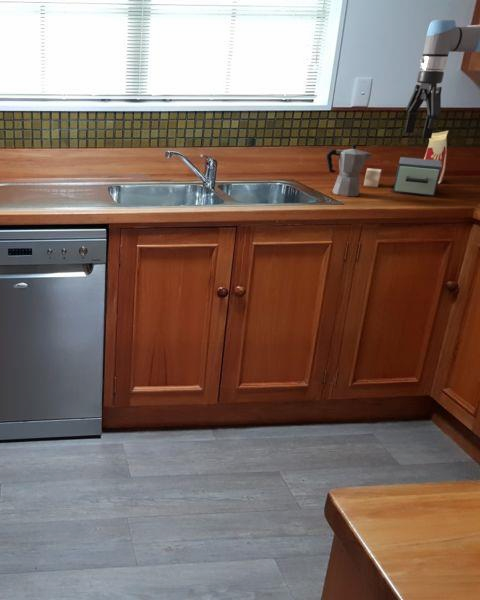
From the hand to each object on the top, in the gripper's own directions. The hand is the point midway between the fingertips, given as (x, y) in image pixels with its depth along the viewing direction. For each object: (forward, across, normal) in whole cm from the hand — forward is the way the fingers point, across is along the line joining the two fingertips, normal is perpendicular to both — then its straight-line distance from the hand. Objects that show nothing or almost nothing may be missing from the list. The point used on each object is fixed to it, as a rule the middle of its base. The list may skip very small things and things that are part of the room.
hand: (417, 135), depth 212 cm
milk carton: (+22, -31, +23) cm, 44 cm away
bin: (+21, -6, +6) cm, 22 cm away
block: (+22, -18, -5) cm, 29 cm away
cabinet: (+22, -10, +8) cm, 25 cm away
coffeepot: (+22, -2, -21) cm, 30 cm away
